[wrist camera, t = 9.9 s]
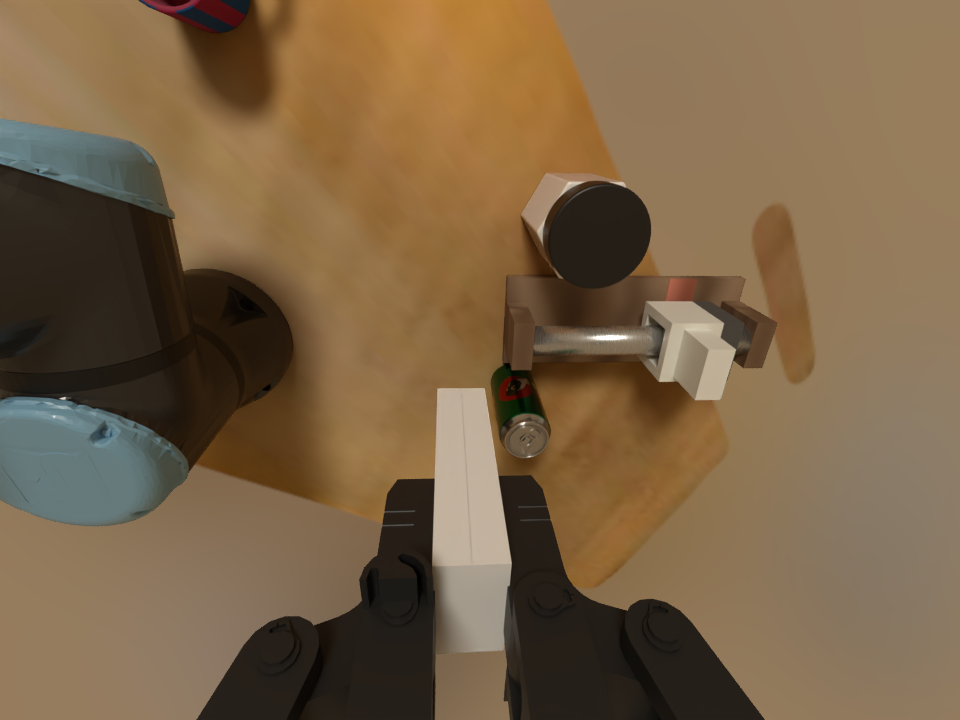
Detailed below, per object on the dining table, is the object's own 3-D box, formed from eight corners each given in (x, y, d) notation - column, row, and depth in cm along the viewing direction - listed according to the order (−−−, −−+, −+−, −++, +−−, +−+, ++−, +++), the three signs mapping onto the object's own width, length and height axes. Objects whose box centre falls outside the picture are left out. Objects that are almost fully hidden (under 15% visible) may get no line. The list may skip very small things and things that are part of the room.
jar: (571, 272, 48) (606, 311, 37) (507, 233, 46) (525, 263, 35) (623, 196, 45) (678, 215, 34) (557, 150, 43) (594, 155, 32)
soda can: (481, 382, 53) (489, 444, 43) (510, 353, 52) (526, 409, 41) (512, 404, 55) (527, 469, 44) (541, 377, 54) (563, 437, 43)
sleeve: (635, 354, 50) (679, 405, 40) (646, 301, 47) (695, 343, 37) (679, 354, 50) (732, 405, 41) (692, 301, 47) (752, 342, 38)
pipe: (517, 348, 47) (522, 362, 44) (519, 320, 45) (524, 332, 43) (737, 347, 48) (756, 360, 46) (746, 319, 47) (765, 331, 44)
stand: (502, 358, 52) (510, 391, 46) (506, 275, 48) (516, 297, 41) (716, 357, 54) (754, 388, 47) (740, 276, 49) (786, 298, 43)
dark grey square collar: (678, 354, 50) (707, 381, 45) (692, 301, 47) (724, 323, 42) (696, 354, 50) (726, 381, 45) (710, 301, 47) (744, 323, 42)
